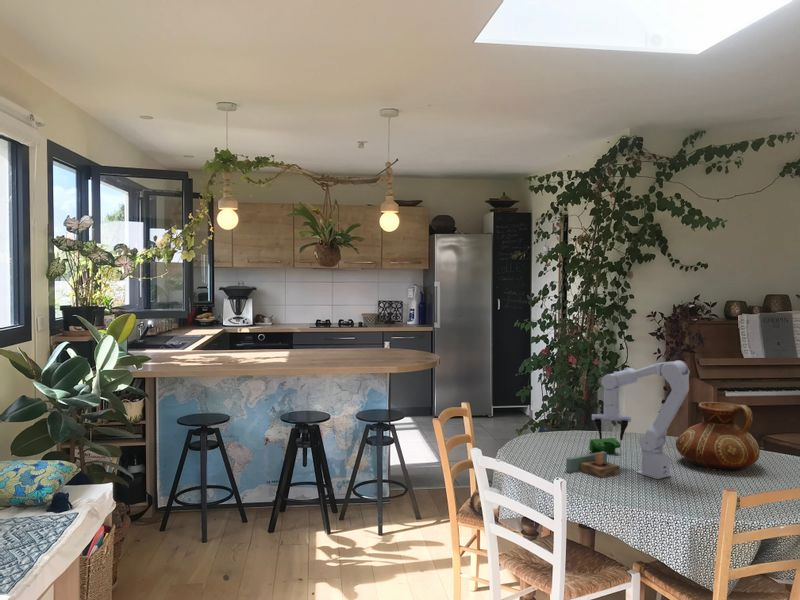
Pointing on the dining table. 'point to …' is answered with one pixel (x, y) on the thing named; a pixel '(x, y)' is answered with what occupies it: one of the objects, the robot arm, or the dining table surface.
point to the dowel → (599, 459)
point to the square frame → (599, 469)
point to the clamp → (604, 445)
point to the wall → (581, 461)
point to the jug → (720, 439)
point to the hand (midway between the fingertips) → (610, 439)
